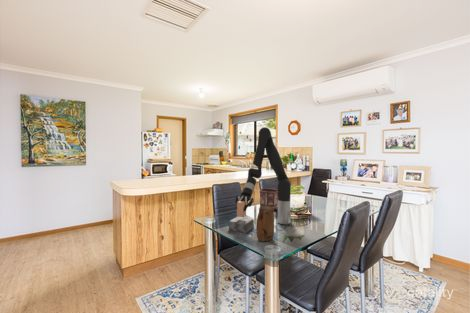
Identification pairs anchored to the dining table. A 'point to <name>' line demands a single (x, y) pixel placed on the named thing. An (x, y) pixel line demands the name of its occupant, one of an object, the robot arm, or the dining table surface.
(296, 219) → the dining table surface
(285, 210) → the robot arm
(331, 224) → the dining table surface
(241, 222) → the charcoal plinth
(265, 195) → the reddish brown crate
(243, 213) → the terracotta block
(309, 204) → the candy box
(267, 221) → the block
